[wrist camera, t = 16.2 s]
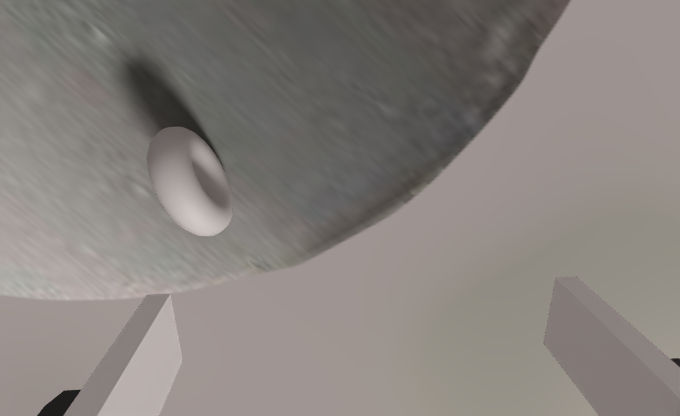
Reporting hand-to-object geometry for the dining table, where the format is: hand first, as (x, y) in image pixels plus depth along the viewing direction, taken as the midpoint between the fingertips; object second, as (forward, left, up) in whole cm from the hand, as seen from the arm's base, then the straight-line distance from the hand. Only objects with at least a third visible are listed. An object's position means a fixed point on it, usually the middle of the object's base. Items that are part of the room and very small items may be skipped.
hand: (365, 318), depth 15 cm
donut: (-12, -4, -29) cm, 31 cm away
